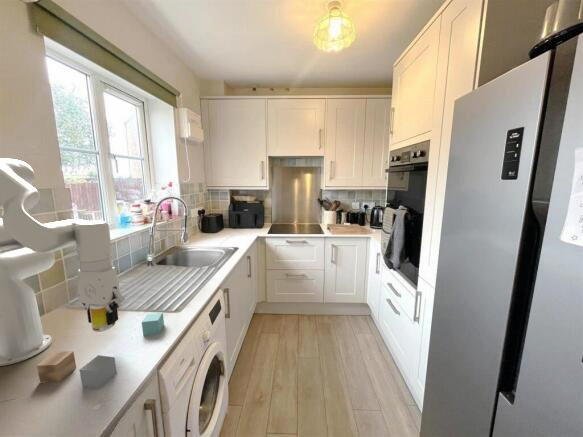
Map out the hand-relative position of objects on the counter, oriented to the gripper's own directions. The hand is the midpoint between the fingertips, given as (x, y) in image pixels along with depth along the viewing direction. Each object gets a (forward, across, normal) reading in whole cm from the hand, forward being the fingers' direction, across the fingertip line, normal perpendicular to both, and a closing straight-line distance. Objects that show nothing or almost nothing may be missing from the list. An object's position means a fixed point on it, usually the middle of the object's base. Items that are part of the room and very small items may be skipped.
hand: (103, 320), depth 72 cm
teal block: (+10, +7, +11) cm, 16 cm away
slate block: (+10, +8, -10) cm, 16 cm away
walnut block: (+10, -5, -10) cm, 15 cm away
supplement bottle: (+2, 0, 0) cm, 2 cm away
